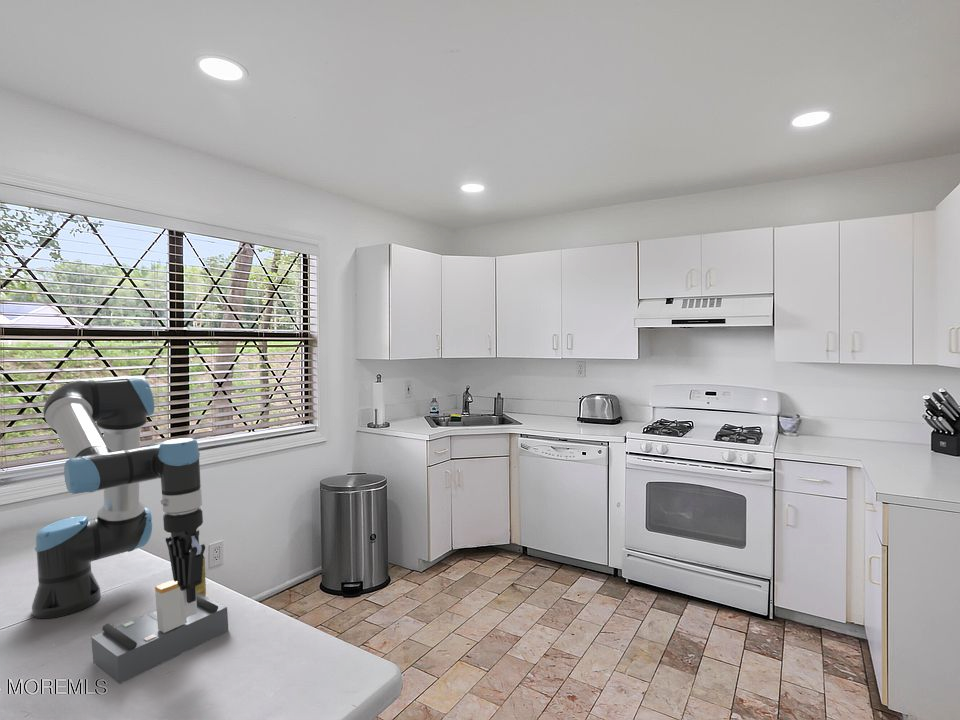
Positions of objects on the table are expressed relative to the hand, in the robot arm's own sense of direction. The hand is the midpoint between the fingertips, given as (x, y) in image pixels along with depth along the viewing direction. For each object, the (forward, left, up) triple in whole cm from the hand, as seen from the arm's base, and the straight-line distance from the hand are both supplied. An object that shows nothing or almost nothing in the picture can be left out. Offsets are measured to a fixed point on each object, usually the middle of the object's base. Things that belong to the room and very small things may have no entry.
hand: (189, 614), depth 118 cm
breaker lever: (-8, 0, -5) cm, 10 cm away
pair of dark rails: (-14, 0, -5) cm, 15 cm away
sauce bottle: (-30, +15, -12) cm, 35 cm away
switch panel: (-14, 0, -11) cm, 18 cm away
